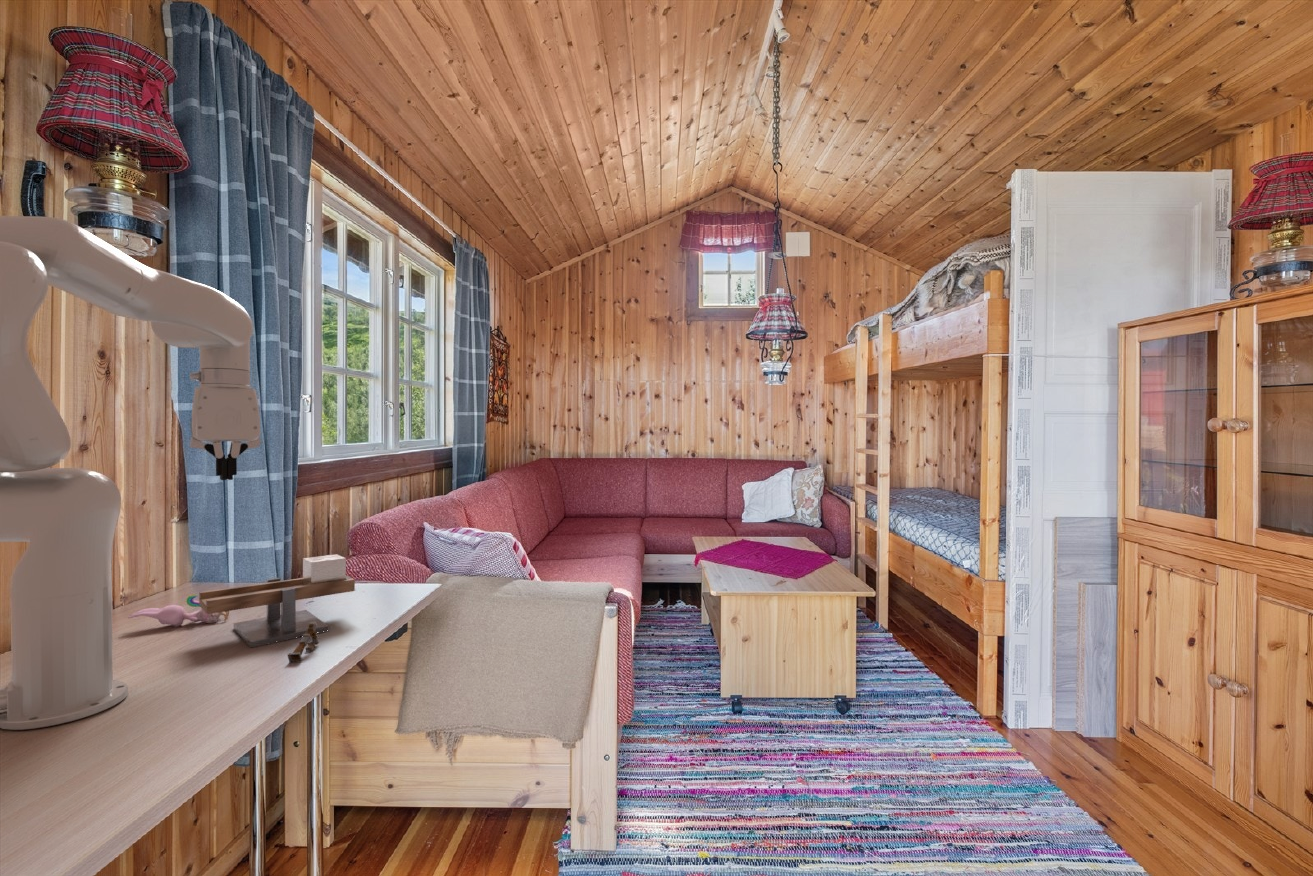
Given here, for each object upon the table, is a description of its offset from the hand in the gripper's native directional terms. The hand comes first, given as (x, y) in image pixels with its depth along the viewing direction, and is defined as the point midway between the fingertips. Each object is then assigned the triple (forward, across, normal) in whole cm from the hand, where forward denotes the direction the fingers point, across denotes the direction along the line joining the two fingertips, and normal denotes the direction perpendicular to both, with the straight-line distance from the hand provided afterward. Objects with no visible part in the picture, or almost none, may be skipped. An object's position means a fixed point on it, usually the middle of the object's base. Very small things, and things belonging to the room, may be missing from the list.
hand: (226, 479), depth 112 cm
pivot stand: (+28, +7, -8) cm, 30 cm away
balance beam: (+22, +7, -8) cm, 24 cm away
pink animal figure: (+28, -6, +8) cm, 30 cm away
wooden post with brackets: (+28, +7, -25) cm, 38 cm away
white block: (+21, +14, -7) cm, 26 cm away
